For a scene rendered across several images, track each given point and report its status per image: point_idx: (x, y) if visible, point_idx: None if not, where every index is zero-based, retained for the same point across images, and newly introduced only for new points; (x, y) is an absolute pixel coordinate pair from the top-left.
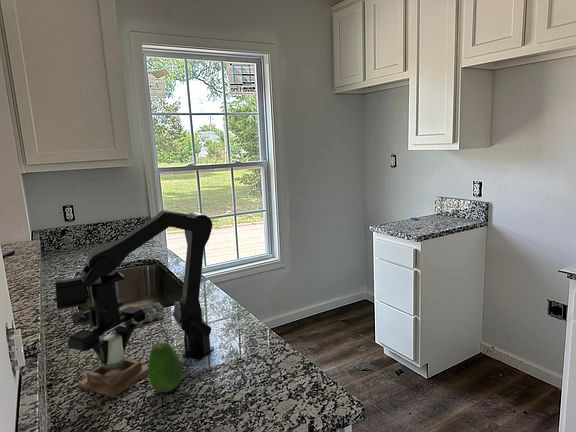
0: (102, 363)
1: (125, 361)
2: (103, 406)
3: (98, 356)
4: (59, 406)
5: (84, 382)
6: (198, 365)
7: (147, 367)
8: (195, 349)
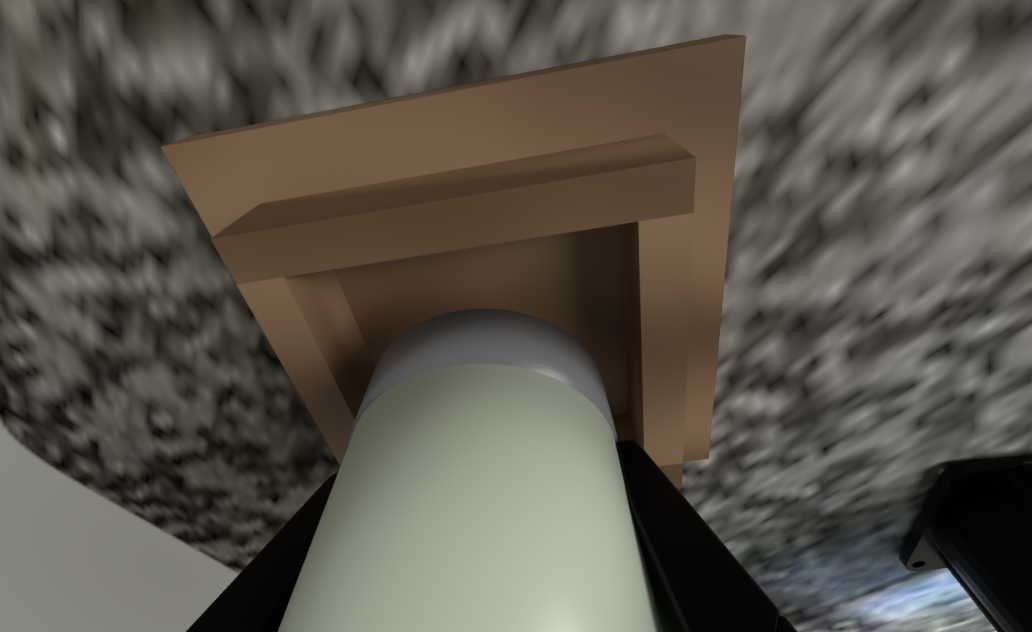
0: (330, 478)
1: (638, 359)
2: (292, 487)
3: (230, 600)
4: (14, 285)
5: (224, 211)
6: (835, 572)
7: (695, 446)
8: (974, 593)
